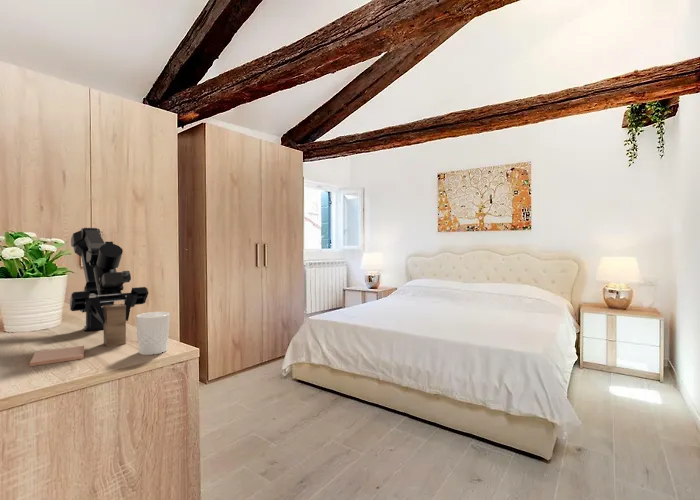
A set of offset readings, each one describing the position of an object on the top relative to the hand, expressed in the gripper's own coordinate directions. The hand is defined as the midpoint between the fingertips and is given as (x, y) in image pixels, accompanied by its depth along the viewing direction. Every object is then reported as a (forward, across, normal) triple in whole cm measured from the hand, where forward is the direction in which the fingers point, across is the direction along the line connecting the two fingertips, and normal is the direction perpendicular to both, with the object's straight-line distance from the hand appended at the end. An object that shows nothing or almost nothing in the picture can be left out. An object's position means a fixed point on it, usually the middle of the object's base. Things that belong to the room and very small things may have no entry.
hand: (115, 321), depth 100 cm
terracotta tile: (+7, -13, +3) cm, 15 cm away
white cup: (+14, +6, -5) cm, 16 cm away
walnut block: (+4, 0, +6) cm, 7 cm away
